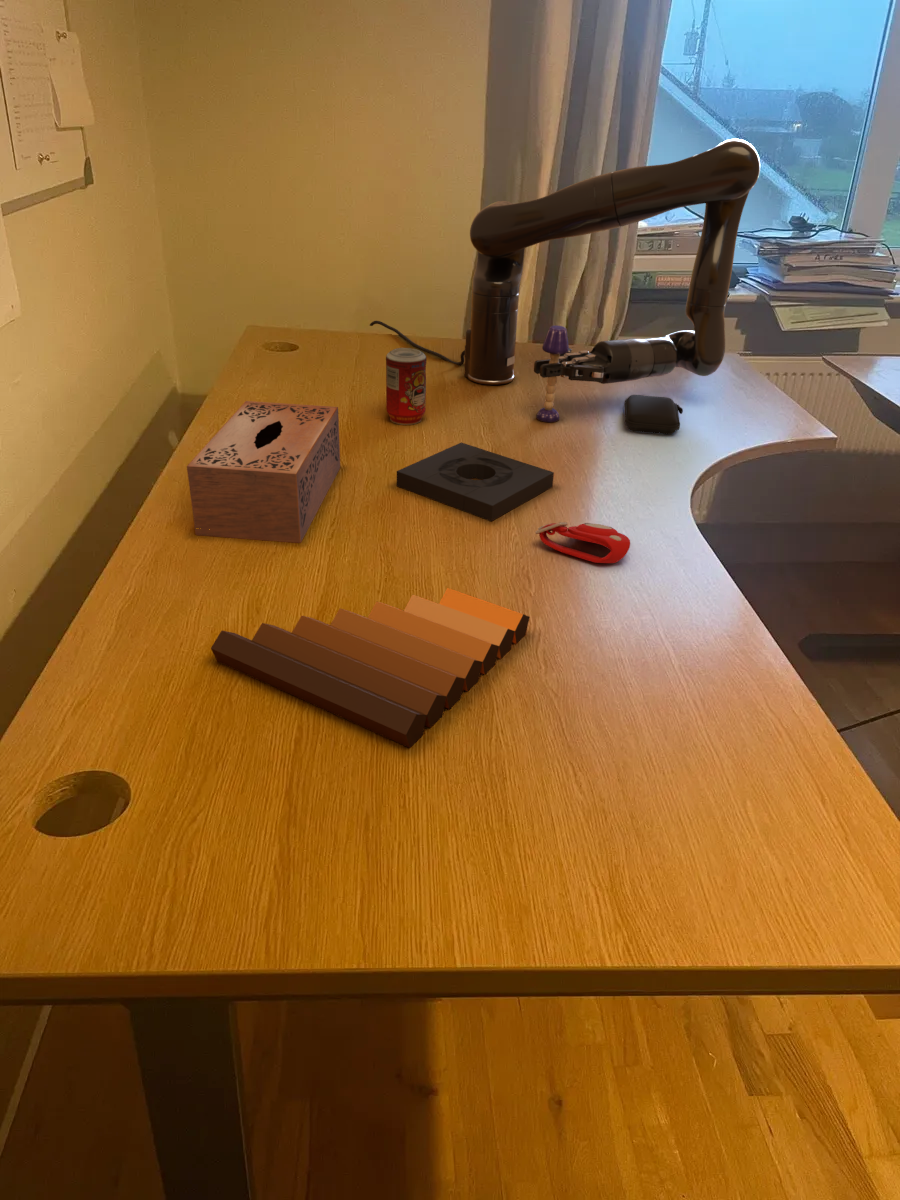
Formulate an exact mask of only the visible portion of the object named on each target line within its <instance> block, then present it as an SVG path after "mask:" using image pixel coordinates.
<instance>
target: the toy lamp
mask: <svg viewBox="0 0 900 1200" xmlns="http://www.w3.org/2000/svg"><path fill="white" fill-rule="evenodd" d="M569 348H570V346H569V338H568V330H567V328H566V327H565V326H562V325H551V326H549V328H548V330H547V333H546V336H545V338H544V340H543V343H542V347H541V349H542V351H543V352H545V353H548V354H549V359H550V361H549V364H551V363H559V360H558V359H559V357H560V354H565V353H567V352H568V351H569ZM546 378H547V379H546V382H547V383H546V387H545V391H546V393H545V395H544V399H545V401H544V402H543V406H544V407H542V408H540V409H538V411H537V413H536V415H535V417H536V419H537V420H538V421H541V422H544V423H556V422H558V421H559V420H560V413H559V412H558V411H557V410H556V409H555V408H554V405H555V404H554V403H555V402H554V400H555V396H556V395H555V393H556V390H557V386H556V384H557V382H558V376H555V377H546Z"/></svg>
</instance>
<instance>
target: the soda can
mask: <svg viewBox="0 0 900 1200" xmlns="http://www.w3.org/2000/svg"><path fill="white" fill-rule="evenodd" d="M426 369H427V355H426V354H425V353H424V351H422V350H420V349H418V348H411V347H398V348H393V349H392V350H390V351H389V352H388V353H387V354H386V355H385V371H386V372H385V386H386V387H385V392H386V393H385V395H386V396H385V401H386V402H385V403H386V404H385V406H386V407H385V409H386V413H387V414H388V416H389V420H390V422H391V423H393V424H397V425H402V426H408V425H409V426H411V425H417V424H419V423H420V422H422V418H423V416H424V415H425V413H426V409H427V408H426V405H427V404H426V401H427V399H426V398H427V373H426V372H427V370H426Z"/></svg>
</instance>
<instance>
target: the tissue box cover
mask: <svg viewBox="0 0 900 1200" xmlns="http://www.w3.org/2000/svg"><path fill="white" fill-rule="evenodd" d="M340 449H341V448H340V419H339V406H329V405H327V406H326V405H314V404H313V405H312V404H296V403H285V402H284V403H283V402H282V403H281V402H267V401H252V400H245V401H244V402H243V403H242V405H241V406H240V407H239V408H237V410H235V412H234V413H233V414H232V415H231V417H230V418H229V419H228V420H227V421H226V422H225V423H224V425H222V426H221V428H220V429H219V430H218V431H217V432H216V433H215V435H213V436H212V437H211V439H209V441H207V443H206V444H205V445H204V447H202V448H201V450H200V451H199V452H198V453H197V454H196V455H195V456H194V457H193V459H192V460H191V461H190V462H189V463H187V465H186V473H187V479H188V487H189V493H190V495H189V496H190V501H191V509H192V510H191V511H192V516H193V523H194V532H195V536H203V537H217V538H227V539H228V538H229V539H230V538H231V539H243V540H257V541H269V542H270V541H271V542H282V543H295V544H301V543H302V541H303V539H304V537H305V536H306V534H307V532H308V530H309V528H310V526H311V524H312V522H313V520H314V519H315V517H316V515H317V513H318V511H319V509H320V507H321V505H322V503H323V502H324V500H325V498H326V496H327V494H328V492H329V490H330V488H331V486H332V484H333V483H334V480H335V479H336V477H337V475H338V473H339V471H340V469H341V453H340V452H341V451H340ZM196 528H199V529H196ZM200 528H201V529H200ZM209 529H210V530H209Z"/></svg>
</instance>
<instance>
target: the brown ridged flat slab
mask: <svg viewBox="0 0 900 1200" xmlns="http://www.w3.org/2000/svg"><path fill="white" fill-rule="evenodd" d="M530 618H531V617H530V616H529V615H526V614H524V613H521V612H518V611H515V610H513V609H509V608H506V607H504V606H501V605H498V604H495V603H493V602H490V601H486V600H483V599H481V598H477V597H475V596H472V595H470V594H466V593H463V592H460V591H458V590H455V589H452V588H449V587H447V588H446V590H445V592H444V593H443V596H442V597H441V599H440V601H439V603H437V602H435V601H433V600H429V599H427V598H423V597H421V596H418V595H416V594H412V595H411V596H410V598H409V601H408V603H406V606H405V608H404V610H403V609H400V608H398V607H394V606H392V605H390V604H387V603H383V602H381V601H376V602H375V603H374V605H373V607H372V609H371V611H370V613H369V614H368V616H365V615H361V614H359V613H356V612H353V611H350V610H347V609H344V608H341V607H340V608H339V609H338V610H337V612H336V614H335V615H334V617H333V619H332V621H331V623H330V624H328V623H326V622H323V621H321V620H318V619H316V618H313V617H310V616H306V615H301V616H300V617H299V619H298V621H297V622H296V624H295V626H294V628H293V629H292V631H289V630H286V629H284V628H282V627H280V626H277V625H274V624H269V623H265V622H261V624H260V626H259V627H258V629H257V631H256V632H255V634H254V636H253V637H252V639H249V638H247V637H245V636H242V635H240V634H238V633H236V632H231V631H227V630H221V631H219V634H218V636H217V637H216V639H215V640H214V642H213V644H212V646H211V647H210V650H211V651H212V654H213V655H214V657H215V660H216V662H218V663H220V664H222V665H224V666H227V667H229V668H231V669H233V670H235V671H238V672H240V673H242V674H245V676H249V677H251V678H252V679H253V678H254V679H255V680H258V681H260V682H262V683H265V684H266V685H269V686H271V687H273V688H275V689H278V690H280V691H282V692H284V693H287V694H288V695H291V696H294V697H296V698H298V699H300V700H302V701H304V702H306V703H309V704H311V705H312V706H315V707H318V708H319V709H323V710H324V711H327V712H329V713H331V714H333V715H336V716H338V717H340V718H342V719H345V720H346V721H349V722H350V723H353V724H355V725H357V726H360V727H362V728H364V729H367V730H368V731H371V732H372V733H375V734H378V735H379V736H382V737H384V738H386V739H388V740H391V741H394V742H396V743H397V744H399V745H401V746H404V747H406V748H408V749H410V748H412V747H413V746H414V745H415V744H416V743H417V742H418V741H419V740H420V739H421V738H422V737H423V735H424V731H425V727H426V728H429V729H431V728H432V727H433V726H435V724H436V723H437V722H438V721H439V720H440V719H442V717H443V715H444V709H448V710H451V708H452V707H454V706H455V705H456V703H458V702H459V701H460V700H461V699H462V695H463V691H465V692H469V691H470V690H471V689H473V687H474V686H475V685H476V684H477V683H478V682H479V679H480V675H481V674H482V675H487V673H489V672H490V670H492V669H493V668H494V666H495V665H496V662H497V658H498V659H500V660H501V659H503V657H505V656H506V655H507V654H508V653H509V652H510V651H511V650H512V645H513V644H516V645H517V644H518V643H519V642H520V641H521V640H522V639H523V638H524V637H525V636H526V635H527V630H528V626H529V621H530Z"/></svg>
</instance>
